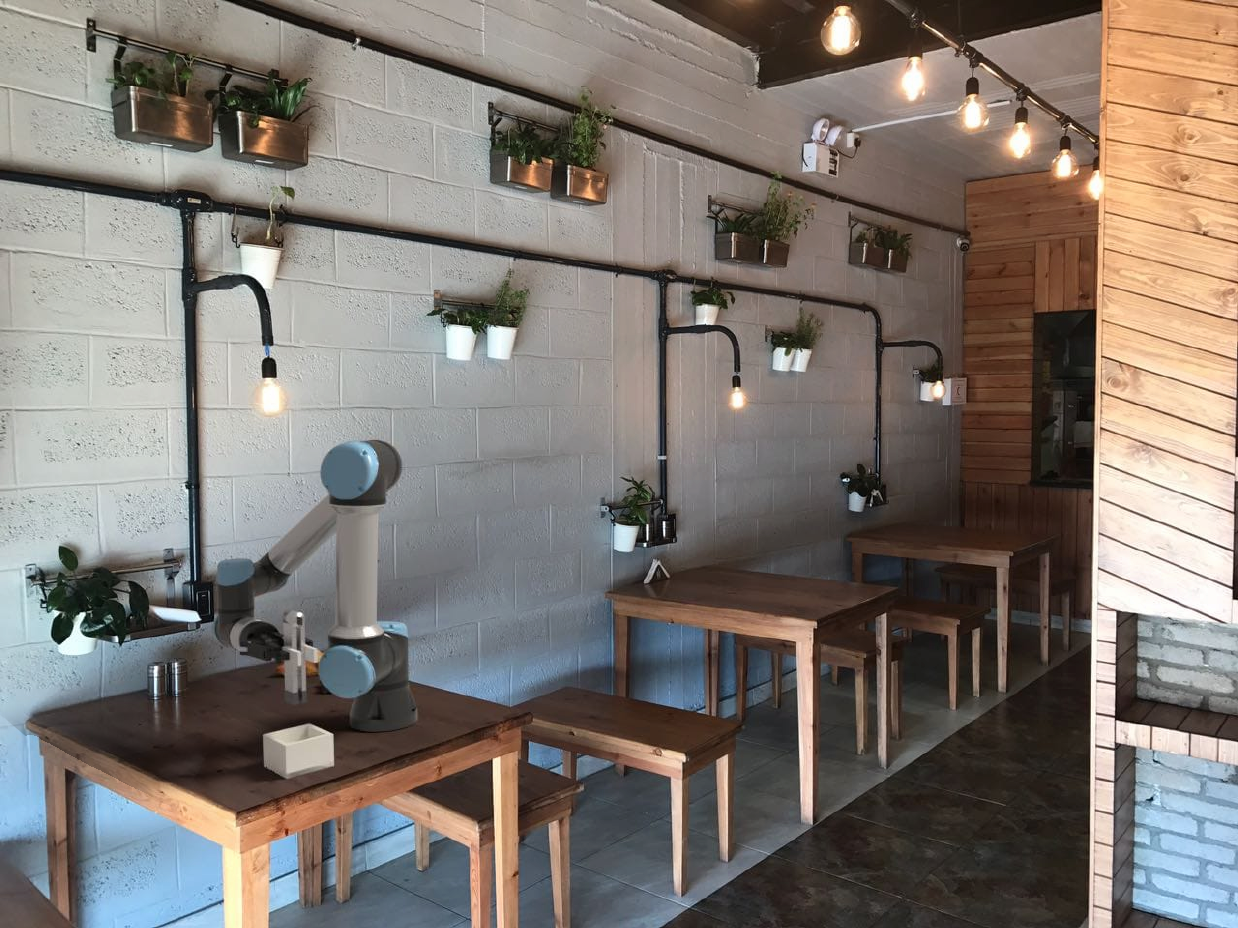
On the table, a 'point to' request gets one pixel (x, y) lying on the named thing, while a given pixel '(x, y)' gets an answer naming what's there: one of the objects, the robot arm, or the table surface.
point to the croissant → (310, 667)
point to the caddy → (298, 750)
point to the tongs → (297, 674)
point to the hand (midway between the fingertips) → (307, 657)
